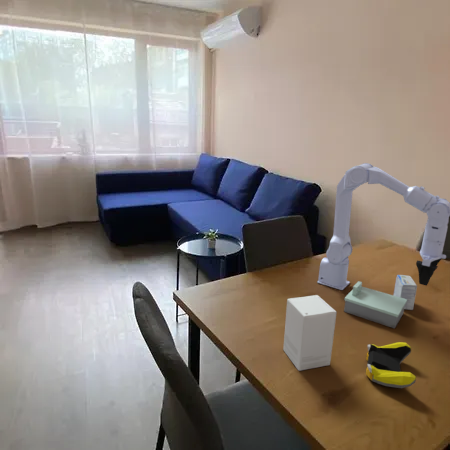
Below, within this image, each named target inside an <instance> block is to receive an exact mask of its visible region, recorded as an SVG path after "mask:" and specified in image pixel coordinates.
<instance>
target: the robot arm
mask: <svg viewBox="0 0 450 450" xmlns="http://www.w3.org/2000/svg"><path fill="white" fill-rule="evenodd" d="M364 184H368V185H378V184H379V185H381V186H384V187H385V188H387V189H389V190H391V191H393V192H395V193H397V194H399V195H400V196H402V197H403V200H404V202H405V203H407V204H408V205H410V206H412V207H413V208H415V209H417V210H419V211H420V212H422V213H423V214H425V213H426V216H427V221H426V223H425V227H424V233H423V237H422V243H421V248H420V250H419V255H420V257H421V259H422V260H416V263H415V265H416V267H417V271H418V282H419V285H423V286H426V287H427V286H428V284H429V282H430V280H431V278H432V276H433V275H434V273H435V271H436V270H437V269H438V267H439V266H438V264H439V263H440V262H441V260H442V259H443V260H445V259H446V258H447V255H446V254H443V251H444V246H445V241H446V237H447V232H448V227H449V226H448V224H449V217H450V202H449V200H447V199H446V198H441V196H440V195H434V194H433V193H430V192H429V191H427V190H425V189H426V188H425V187H424V186H423V185H422V186H418V185H414V186H410V185H407V184H406V183H404V182H403V181H401V180H399V179H398V178H396V177H395V176H393V175H391V174H389V173H388V172H386V170H383V169H381V168H379V167H378V166H374V165H373V164H371V163H368V162H365V163H364V162H363V163H361V164H359V165H354V166H352V167H351V168H349V169H347V170H346V171H345V172H344V175H343V176H342V178H341V179H340V180H339V182H338V183H337V185H336V194H335V205H334V222H333V235H332V237H331V239H330V241H329V246H328V247H327V250H326V253H325V255H326V257H323V258H322V259H321V261H320V265H319V271H318V278H317V279H318V280H317V284H320V285H324V286H327V287H330V288H334V289H337V290H340V291H343V290H344V289H345V288H346V287H348V285H350V284H351V283H350V282H351V281H349V280H348V279H347V278H348V271H349V263H350V260H349V257H350V255H352V253H353V245H352V243H351V241H352V239H351V237H350V226H351V225H350V224H351V214H352V213H351V212H352V203H353V202H352V200H353V191H355V190H356V189H357V188H359V187H360V186H361V185H364Z"/></svg>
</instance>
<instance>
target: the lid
mask: <svg viewBox="0 0 450 450" xmlns="http://www.w3.org/2000/svg"><path fill="white" fill-rule="evenodd" d="M393 295H394V294H389V293H387V292H383V291H380V290H376V289H372V288H368V287H364V286H363V282H362V281H357V282H356V283H355V284H354V285H353V286H352V290H351V291H350V292H348V294H346V296H345V297H344V302H345V301H348V302H352V303H355V304H358V305H361V306H364V307H367V308H370V309H373V310H377V311H380V312H383V313H386V314H389V315H392V316H395V317H398V316H399V314H400V313H401V311H402V309H403V308H404V306H405V304H406V302H407V299H404V298H400V297H397V296H393Z"/></svg>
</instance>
